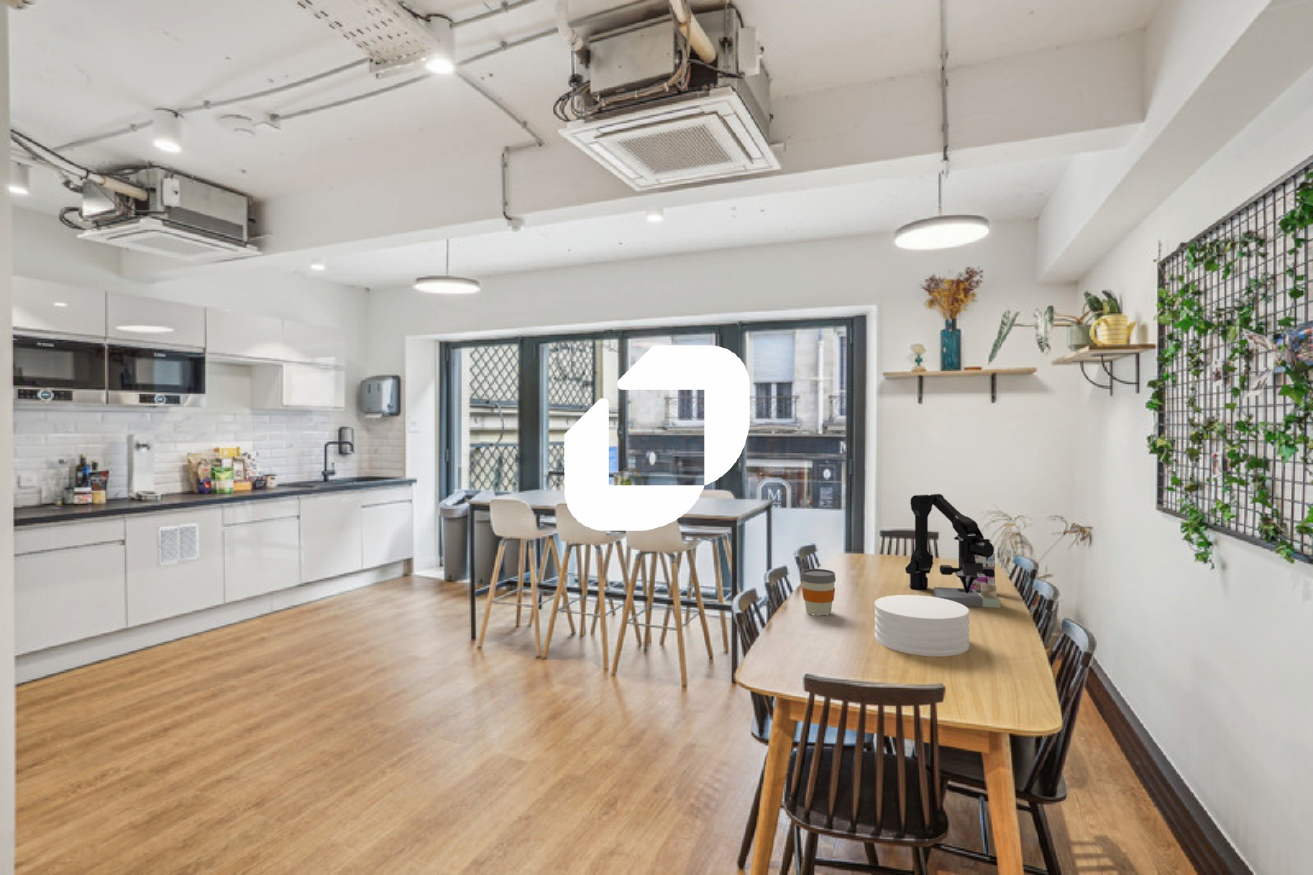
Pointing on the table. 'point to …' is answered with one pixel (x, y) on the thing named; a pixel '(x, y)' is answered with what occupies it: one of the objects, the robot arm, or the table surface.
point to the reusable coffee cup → (818, 590)
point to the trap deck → (966, 597)
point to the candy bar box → (981, 577)
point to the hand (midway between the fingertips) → (966, 593)
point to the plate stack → (922, 625)
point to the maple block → (988, 591)
